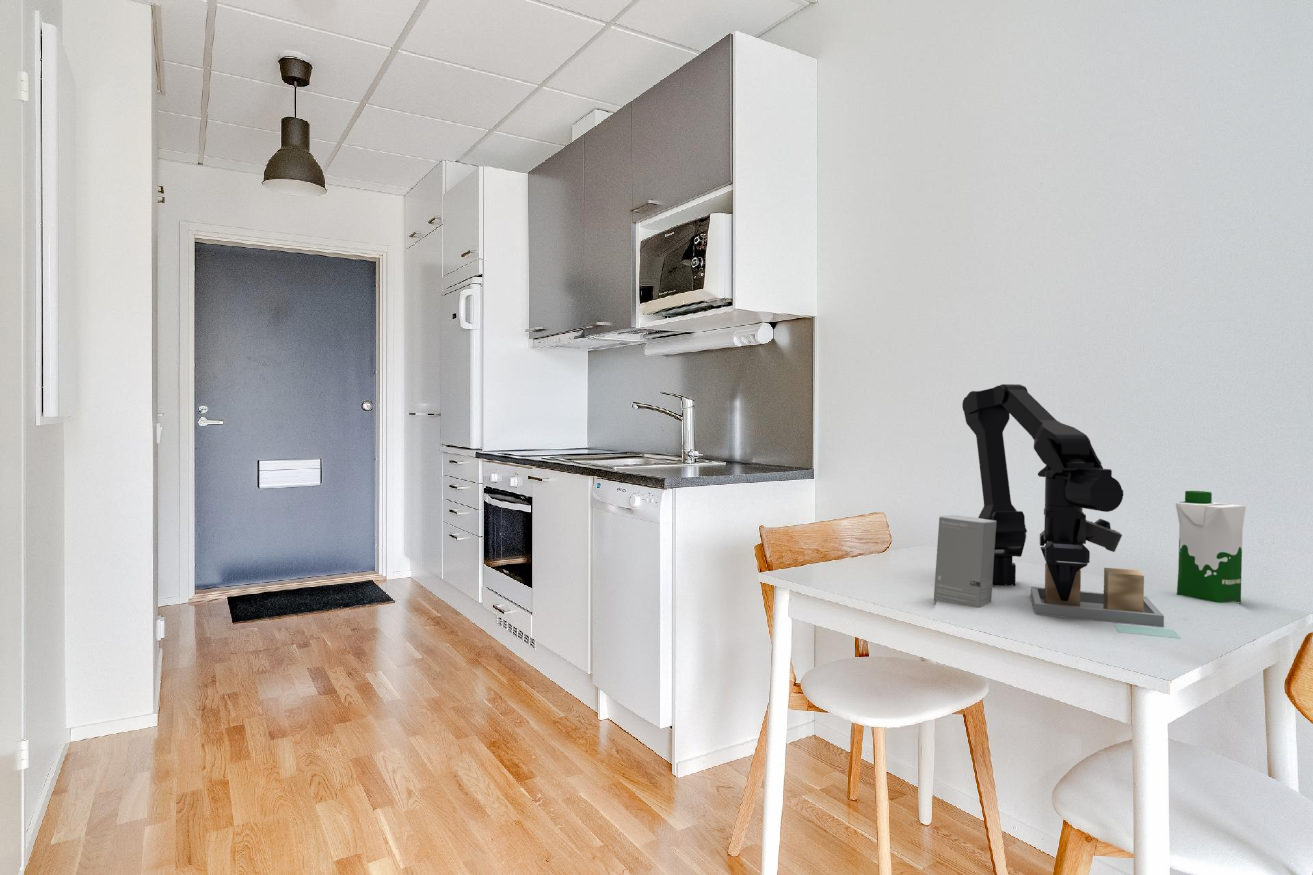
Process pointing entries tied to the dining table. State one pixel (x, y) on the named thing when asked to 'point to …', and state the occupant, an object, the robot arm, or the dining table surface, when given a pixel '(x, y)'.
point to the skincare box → (965, 560)
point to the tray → (1096, 609)
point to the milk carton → (1209, 548)
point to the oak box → (1123, 589)
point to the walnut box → (1053, 595)
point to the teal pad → (1146, 631)
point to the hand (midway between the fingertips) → (1061, 594)
